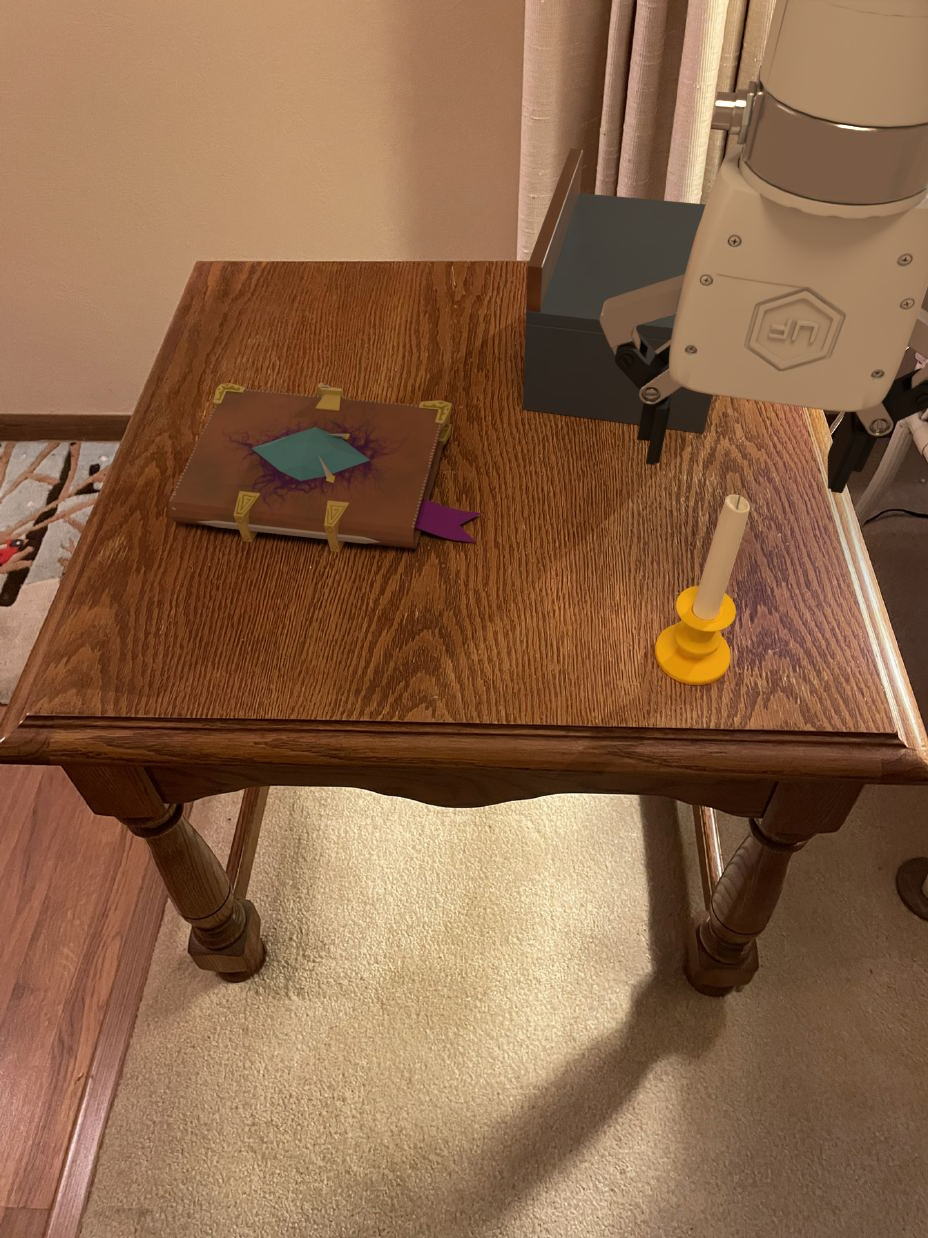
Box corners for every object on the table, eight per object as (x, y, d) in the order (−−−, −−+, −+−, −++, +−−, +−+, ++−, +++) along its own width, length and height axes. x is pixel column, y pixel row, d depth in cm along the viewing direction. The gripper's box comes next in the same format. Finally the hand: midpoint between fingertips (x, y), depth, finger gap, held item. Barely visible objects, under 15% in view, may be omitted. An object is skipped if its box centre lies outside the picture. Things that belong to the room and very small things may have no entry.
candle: (720, 624, 64) (773, 462, 52) (736, 684, 61) (797, 526, 49) (648, 627, 64) (685, 466, 52) (661, 687, 61) (702, 530, 49)
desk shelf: (719, 304, 89) (750, 162, 78) (703, 433, 77) (738, 287, 66) (561, 287, 91) (570, 147, 80) (522, 409, 80) (527, 265, 69)
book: (472, 573, 69) (470, 531, 65) (172, 539, 72) (152, 497, 68) (502, 428, 78) (502, 383, 74) (236, 403, 81) (221, 359, 77)
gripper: (612, 158, 34) (575, 483, 48) (1100, 205, 31) (913, 536, 45) (636, 77, 38) (595, 396, 52) (1065, 113, 36) (904, 440, 49)
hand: (742, 461), depth 48 cm, fingers open, 9 cm apart
